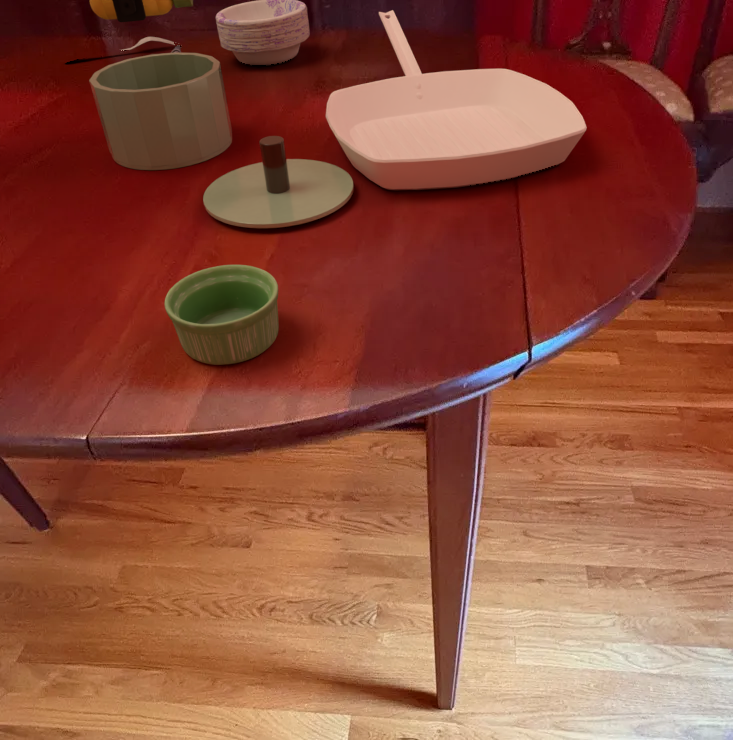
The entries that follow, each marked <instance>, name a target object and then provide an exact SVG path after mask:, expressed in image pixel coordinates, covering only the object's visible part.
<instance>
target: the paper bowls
mask: <svg viewBox="0 0 733 740" xmlns="http://www.w3.org/2000/svg"><path fill="white" fill-rule="evenodd" d="M215 23H216V30H217V34H218V38H219V41H220V47H221V48H223V49H225V50H227V51H231V52H232V53H233V56H234V57H235V58H236V59H237V61H238V62H239V63H241V62H242V63H241V64H243V63H245V64H244V65H246V64H250V65H249V66H252V65H266V66H272V65H271V64H274V65H278V64H277V63H279V64H283V63H286V62H288V60H289V61H290V59H291V60H292V59H294V58H295V57H296V56H297V55H298V53H299V50H300V48H301V44H302V43H304V42H305V41H306V40H307V39H308V38H309V37H310V36H311V35H310V32H311V31H310V23H309V15H308V7H307V5H306V4H305V2H303V1H301V0H252V1H247V2H242V3H238V4H234V5H231V6H228V7H225V8H224V9H221V10H219V11H218V12H217V13H216V15H215ZM285 61H286V62H285ZM282 62H283V63H282Z"/></svg>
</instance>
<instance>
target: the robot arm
mask: <svg viewBox="0 0 733 740" xmlns="http://www.w3.org/2000/svg"><path fill="white" fill-rule="evenodd" d="M112 1H113V5H114V9H115V12H116V16H117V19H116V20H117V22H119V23H129V22H138V21H139V22H141V21H145V19H146V18H147V16H146V14H145V10H144V5H143V1H142V0H112Z"/></svg>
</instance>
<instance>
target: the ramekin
mask: <svg viewBox="0 0 733 740" xmlns="http://www.w3.org/2000/svg"><path fill="white" fill-rule="evenodd" d="M278 298H279V285H278V282H277V280H276V278H275V277H274V276H273V275H272V274H271V273H270V272H268V271H266V270H264V269H262V268H260V267H256V266H253V265H246V264H223V265H217V266H212V267H208V268H203V269H201V270H198V271H195V272H193V273H191V274H188V275H187V276H185V277H183V278H181V279H180V280H179V281H176V283H175V284H174V285H173V286H172V287H171V288H169V290H168V292H167V293H166V296H165V298H164V309H165V312H166V314H167V316H168V317H169V319H170V320H171V322H172V324H173V327H174V330H175V332H176V335H177V337H178V340H179V343H180V345H181V347H182V350H183V351H184V353H186V355H187V356H189V357H190V358H191V359H193V360H195V361H198V362H200V363H203V364H207V365H214V366H215V365H217V366H224V365H225V366H227V365H232V364H238V363H239V364H240V363H242V362H246V361H248V360H252V359H253V358H255V357H257V356H259V355H261V354H263V353H264V352H265V351H267V350H268V349H269V348H270V347H271V346H272V345H273V344H274V342H275V341H276V339H277V337H278V335H279V328H280V327H279V325H280V324H279V308H278V307H279V306H278Z"/></svg>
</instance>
